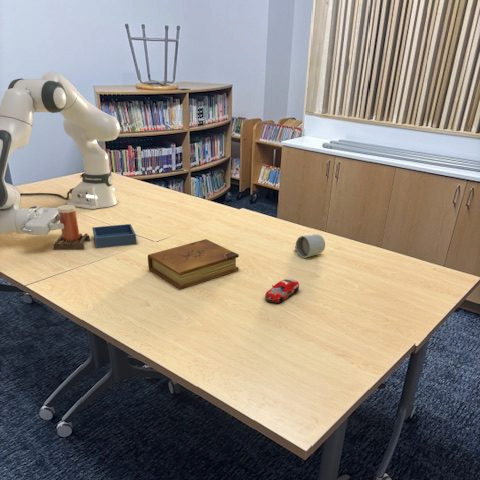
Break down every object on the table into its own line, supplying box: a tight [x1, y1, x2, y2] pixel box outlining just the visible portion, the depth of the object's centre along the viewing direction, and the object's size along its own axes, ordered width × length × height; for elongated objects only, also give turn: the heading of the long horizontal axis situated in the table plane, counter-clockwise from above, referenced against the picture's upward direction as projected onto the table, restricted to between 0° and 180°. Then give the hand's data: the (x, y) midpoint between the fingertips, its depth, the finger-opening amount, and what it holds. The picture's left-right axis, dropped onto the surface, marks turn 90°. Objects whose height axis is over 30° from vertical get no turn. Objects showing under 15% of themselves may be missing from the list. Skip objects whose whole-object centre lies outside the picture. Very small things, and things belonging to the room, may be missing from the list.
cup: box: [57, 204, 80, 242], centre depth 172 cm, size 6×6×12 cm
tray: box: [92, 223, 138, 249], centre depth 179 cm, size 14×12×4 cm
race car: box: [264, 278, 300, 304], centre depth 141 cm, size 13×5×4 cm, turn 140°
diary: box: [147, 238, 240, 290], centre depth 156 cm, size 23×19×6 cm
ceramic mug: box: [294, 233, 326, 259], centre depth 170 cm, size 11×8×8 cm
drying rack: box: [52, 233, 91, 250], centre depth 175 cm, size 10×10×2 cm
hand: (67, 221), depth 171 cm, fingers open, 8 cm apart
